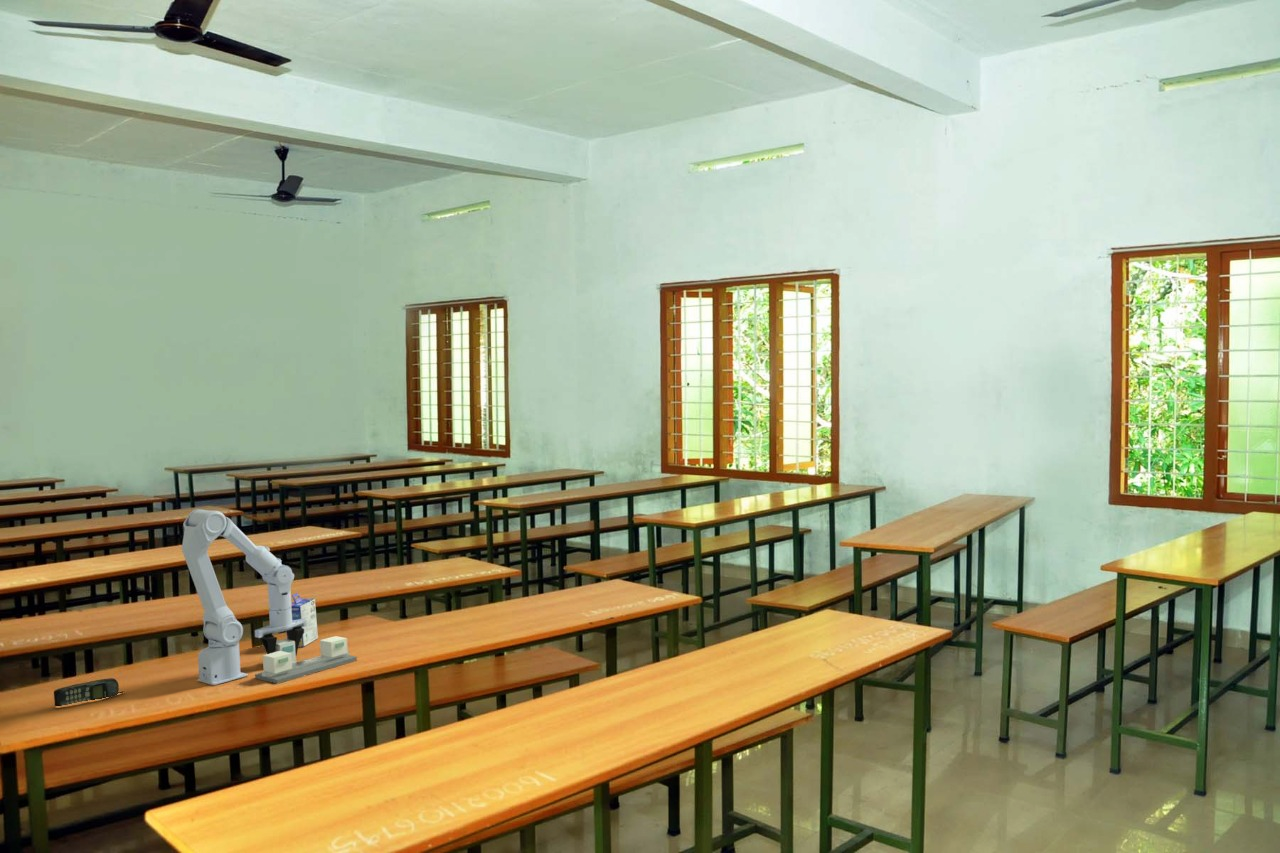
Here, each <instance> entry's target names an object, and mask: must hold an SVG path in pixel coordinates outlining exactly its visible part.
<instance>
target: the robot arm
mask: <svg viewBox="0 0 1280 853" xmlns="http://www.w3.org/2000/svg"><path fill="white" fill-rule="evenodd" d="M182 524H183V529H184V530H183V538H182V545H181V550H182V554H183V557H184V559H185V562H186V565H187V568H188V570H189V573H190V576H191V579H192V582H193V584H194V587H195V589H196V593H197V595H198V597H199V600H200V603H201V606H202V607H203V611H204V613H203V615H202V621H203V635H204V637H205V638H206V639H207V640H208V645H207V647H205V648H203V649H201V650H200V651H199V652H198V656H197V657H198V658H197V660H198V662H197V663H198V676H199V677H198V679H197V681H198V682H200V683H205V684H208V685H211V686H216V685H220V684H223V683H226V682H227V683H228V682H230V681H231V682H232V681H234V680H237V679H241V678H245V677H248V676H249V675H248V673H245V672H241V656H240V655H241V654H240V640H241V639H242V637H243V634H244V627H243V624H241V622H240V621H239V620H237V618H236V616H235V614H234V613H233V611H232V609H230V608H229V607H228V606H227V603H226V600H225V598H224V594H223V591H222V590H221V586H220V582H219V581H218V579H217V576H216V575H217V574H216V573H215V570H214V566H213V564H212V562H211V559H210V556H209V554H208V549H209V547H210V545H212V543H213V542H214V541H215V540H216V539H218V537H223V538H225V539H226V540H227V541H228V542H229V543H230V544H232V545H233V546H234V547H236V548H237V549H238V550H240V552H242V553H243V554H244V555H245V561H246V563H247V564H248V565H249V566H251V567H252V568H253V569H254V570H255V571H256V572H257V573H259V574H260V575H261V576H262V577H261V578H262V580H263V582H264V583H266V584H267V593H268V594H267V595H268V598H267V599H268V612H269V613H268V614H269V615H268V616H269V624H268V625H266V626H263V627H260V628H257V629H255V630H254V637H255V638H258V640H259V641H260V643H261V644H262V646H263V648H264V651H265V653H266V654H270V653H274V652H276V641H277V640H278V637H277V636H274V634H280V633H282V632H287V633H286V636H287V635H288V640H293V641H295V653H296V657H297V656H298V655H297V654H298V649H299V647H298V646H299V643H300V640H301V637H302V635H303V634H304V629H303V628H301V627H306V626H307V619H298V620H292V608H291V603H292V593H291V591H292V590H291V589H292V587H291V586H292V583H293V581H294V578H295V573H294V572H293V570H292V568H291V567H290V566H289V565H287V564H286V565H285V564H282V561H283V560H281V558H278V557H276V556H275V555H274V554H273V553H272V552H270V551H271V549H270V547H268V546H266V545H265V546H264V545H255V543H254V542H252V540H251V539H250V538H248V536H247V535H246V534H245V533H244V532H243V531H242V530H241V529H240V528H239V527H238V526H237V525H236V524H235V523H234V522H233V520H232V519H231V518H230V517H227V516H226V515H225V514H224V513H223V512H222V511H219V510H207V509H202V508H197V509H193V510H192V511H191V512H190V513H189V514H188V515H187V517H186V519H185V520H184V522H183V523H182Z"/></svg>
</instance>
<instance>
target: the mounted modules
mask: <svg viewBox="0 0 1280 853" xmlns="http://www.w3.org/2000/svg"><path fill="white" fill-rule="evenodd" d="M319 644H320V646H319V647H320V649H319V650H320V656H321V655H324V656H328V657H335V656H338V655H342V654H345V653H348V651H349V650H348V638H347V637H342V636H337V635H334V636H331V637H328V638H323V639H320V640H319ZM262 662H263V663H262V664H263V666H262V667H263V672H264V671H267V672H271V673H279V672H282V671H286V670H289V669H292V653H288V652H284V651H277V652H274V653H270V654H267V653H266V654H263V655H262Z"/></svg>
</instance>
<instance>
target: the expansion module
mask: <svg viewBox="0 0 1280 853" xmlns="http://www.w3.org/2000/svg"><path fill="white" fill-rule="evenodd" d="M277 651H284V652H288V653H292V664H293V663H296V662H297V656H296V653H295V641H293V640H288V639H287V638H281V639H277V641H276V652H277Z"/></svg>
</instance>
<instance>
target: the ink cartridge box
mask: <svg viewBox="0 0 1280 853" xmlns="http://www.w3.org/2000/svg"><path fill="white" fill-rule="evenodd" d="M296 597H298V598H296ZM291 599H292V600H293V602H292V601H291V608H292V620H298V619H307V626H306V627H301V628H303V629H304V634H303V635H302V637H301V640H300V643H299V646H298V648H303V647H305V646H308V645H309V644H310V643H312V642H315V640H317V639H318V638H319V635H318V634H319V633H318V622H317V610H316V599H315V598H314V597H313V598H302V597H301V596H300V594H298V592H297V593H294V594H291ZM285 632H286V631H285ZM286 639H288V635H287V632H286Z"/></svg>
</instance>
